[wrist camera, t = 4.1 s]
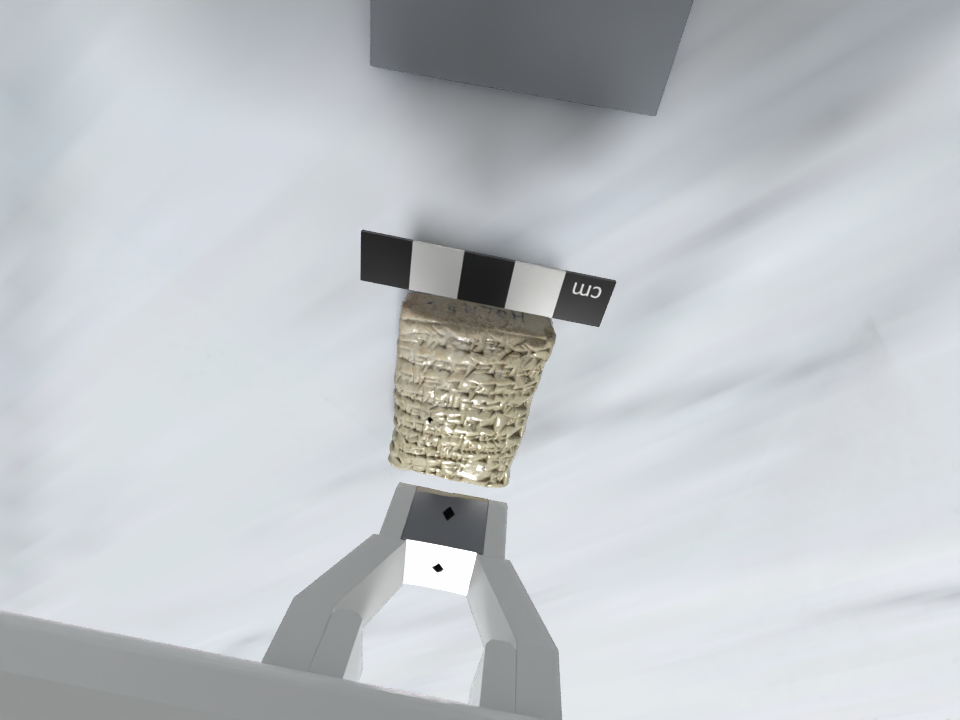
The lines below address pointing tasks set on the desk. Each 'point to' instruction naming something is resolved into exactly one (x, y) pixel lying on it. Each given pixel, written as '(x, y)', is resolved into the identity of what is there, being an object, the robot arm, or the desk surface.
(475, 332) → the cuneiform tablet
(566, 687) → the desk surface
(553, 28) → the felt pad
